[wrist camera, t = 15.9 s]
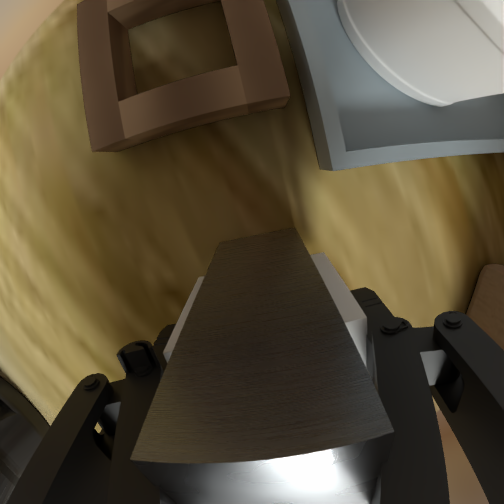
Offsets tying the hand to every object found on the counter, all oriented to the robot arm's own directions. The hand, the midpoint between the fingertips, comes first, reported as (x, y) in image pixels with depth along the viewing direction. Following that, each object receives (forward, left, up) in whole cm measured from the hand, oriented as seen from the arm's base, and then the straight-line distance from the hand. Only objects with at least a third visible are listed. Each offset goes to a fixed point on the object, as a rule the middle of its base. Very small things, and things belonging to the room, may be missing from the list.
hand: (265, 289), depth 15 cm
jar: (+13, +14, -2) cm, 19 cm away
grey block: (0, 0, -3) cm, 3 cm away
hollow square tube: (-2, +14, -3) cm, 14 cm away
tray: (+13, +14, -3) cm, 19 cm away
